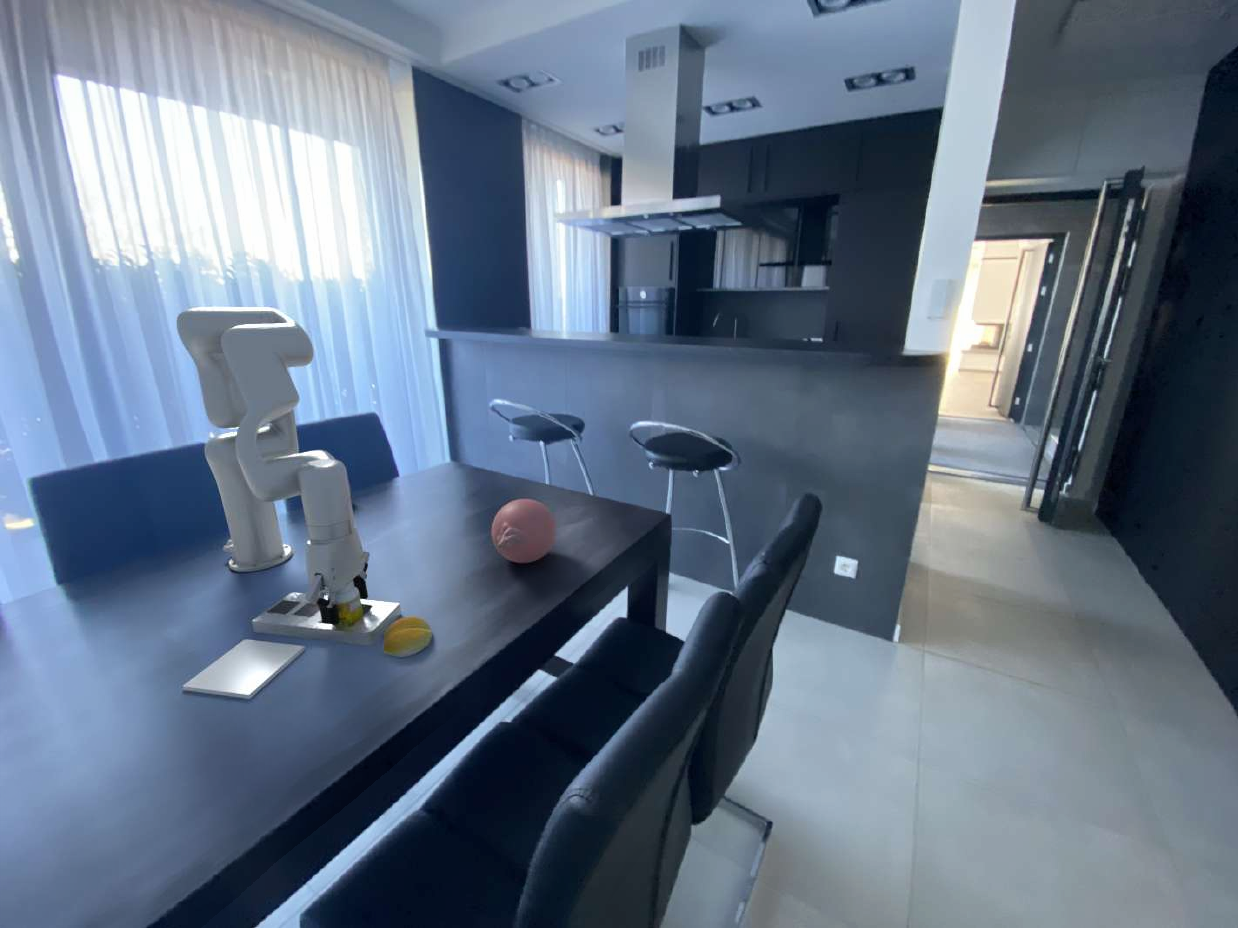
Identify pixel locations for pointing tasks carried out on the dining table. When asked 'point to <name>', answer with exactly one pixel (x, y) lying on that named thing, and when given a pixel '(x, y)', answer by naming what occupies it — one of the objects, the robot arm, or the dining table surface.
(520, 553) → the balloon
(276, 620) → the grey board with squares
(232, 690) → the plate
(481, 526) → the dining table surface
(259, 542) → the robot arm
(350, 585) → the supplement bottle
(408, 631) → the bread roll
